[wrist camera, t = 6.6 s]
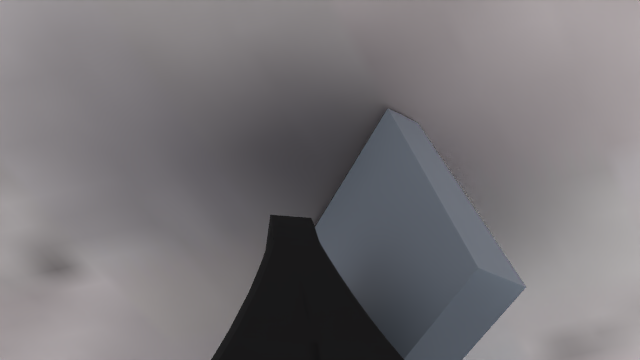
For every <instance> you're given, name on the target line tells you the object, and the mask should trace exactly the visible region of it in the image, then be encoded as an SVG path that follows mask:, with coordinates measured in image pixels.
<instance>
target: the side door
mask: <svg viewBox="0 0 640 360" xmlns="http://www.w3.org/2000/svg"><path fill="white" fill-rule="evenodd" d="M315 229H316V232H317V236H318V239H319V242H320V243H321V245H322V247H323V249H324V250H325V252H326V254H327V255H328V257H329V258H330V260H331V262H332V263H333V265H334V266H335V268H336V270H337V271H338V273H339V274H340V276H341V277H342V279H343V280H344V282H345V283H346V285H347V286H348V287H349V289H350V290H351V292H352V293H353V295H354V296H355V298H356V299H357V300H358V302H359V303H360V305H361V306H362V307H363V309H364V310H365V311H366V313H367V314H368V315H369V317H370V318H371V319H372V321H373V322H374V323H375V324H376V326H377V327H378V328H379V330H380V331H381V332H382V333H383V335H384V336H385V337H386V338H387V340H388V341H389V342H390V343H391V345H392V346H393V347H394V348H395V349H396V351H397V352H398V353H399V354H400V355H401V356H402V358H403V359H404V360H462V359H463V358H464V357H465V356H466V355H467V353H468V352H469V351H470V350H471V349H472V348H473V347H474V346H475V344H476V343H477V342H478V341H479V340H480V339H481V338H482V336H483V335H484V334H485V333H486V332H487V331H488V330H489V329H490V327H491V326H492V325H493V324H494V323H495V322H496V321H497V319H498V318H499V317H500V316H501V315H502V314H503V313H504V312H505V310H506V309H507V308H508V307H509V306H510V305H511V304H512V302H513V301H514V300H515V299H516V298H517V297H518V296H519V294H520V293H521V292H522V291H523V290H524V289H525V288H526V286H525V284H524V283H523V281H522V280H521V278H520V277H519V275H518V274H517V272H516V271H515V269H514V268H513V266H512V265H511V263H510V262H509V260H508V259H507V257H506V256H505V254H504V253H503V251H502V250H501V248H500V247H499V245H498V244H497V242H496V241H495V239H494V237H493V236H492V234H491V233H490V231H489V230H488V228H487V227H486V225H485V224H484V222H483V221H482V219H481V218H480V216H479V215H478V213H477V212H476V210H475V209H474V207H473V206H472V204H471V203H470V201H469V200H468V198H467V197H466V195H465V194H464V192H463V190H462V189H461V187H460V186H459V184H458V183H457V181H456V180H455V178H454V177H453V175H452V174H451V172H450V171H449V169H448V168H447V166H446V165H445V163H444V162H443V160H442V159H441V157H440V156H439V154H438V153H437V151H436V150H435V148H434V147H433V145H432V143H431V142H430V140H429V139H428V137H427V136H426V134H425V133H424V131H423V130H422V128H421V127H420V125H419V124H418V123H417V122H415V121H413V120H411V119H409V118H407V117H405V116H403V115H401V114H399V113H397V112H395V111H393V110H391V109H389V108H388V109H387V110H386V112H385V114H384V115H383V117H382V119H381V120H380V122H379V123H378V125H377V127H376V128H375V130H374V132H373V133H372V135H371V137H370V138H369V140H368V141H367V143H366V145H365V146H364V148H363V150H362V151H361V153H360V155H359V156H358V158H357V159H356V161H355V163H354V164H353V166H352V168H351V169H350V171H349V173H348V174H347V176H346V177H345V179H344V181H343V182H342V184H341V186H340V187H339V189H338V190H337V192H336V194H335V195H334V197H333V199H332V200H331V202H330V204H329V205H328V207H327V208H326V210H325V212H324V213H323V215H322V217H321V218H320V220H319V222H318V223H317V225H316V226H315Z"/></svg>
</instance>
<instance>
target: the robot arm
mask: <svg viewBox="0 0 640 360" xmlns="http://www.w3.org/2000/svg"><path fill="white" fill-rule="evenodd" d="M211 360H404V359H403V358H402V356H401V355H400V354H399V353H398V352H397V351H396V349H395V348H394V347H393V346H392V345H391V343H390V342H389V341H388V340H387V338H386V337H385V336H384V335H383V333H382V332H381V331H380V330H379V328H378V327H377V326H376V324H375V323H374V322H373V321H372V319H371V318H370V317H369V315H368V314H367V313H366V311H365V310H364V309H363V307H362V306H361V305H360V303H359V302H358V300H357V299H356V298H355V296H354V295H353V293H352V292H351V290H350V289H349V287H348V286H347V285H346V283H345V282H344V280H343V279H342V277H341V276H340V274H339V273H338V271H337V270H336V268H335V266H334V265H333V263H332V262H331V260H330V258H329V257H328V255H327V254H326V252H325V250H324V249H323V247H322V245H321V243H320V242H319V239H318V236H317V232H316V229H315V227H314V224H313V222H312V219H311V218H302V217H290V216H277V215H270V222H269V229H268V236H267V244H266V250H265V253H264V257H263V260H262V262H261V265H260V267H259V270H258V272H257V274H256V277H255V279H254V282H253V284H252V286H251V289H250V291H249V293H248V295H247V297H246V299H245V301H244V303H243V305H242V306H241V308H240V310H239V312H238V314H237V316H236V318H235V320H234V322H233V324H232V326H231V327H230V329H229V331H228V333H227V334H226V336H225V338H224V340H223V341H222V343H221V345H220V346H219V348H218V350H217V351H216V353H215V354H214V356H213V358H212V359H211Z"/></svg>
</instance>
